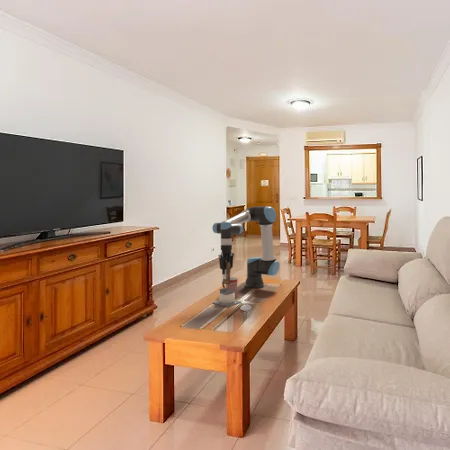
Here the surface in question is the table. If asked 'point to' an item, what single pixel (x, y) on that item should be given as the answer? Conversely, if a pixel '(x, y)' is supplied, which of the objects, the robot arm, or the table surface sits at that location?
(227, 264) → the wood plank
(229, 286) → the mug
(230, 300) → the square plate with disc
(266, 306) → the table surface
